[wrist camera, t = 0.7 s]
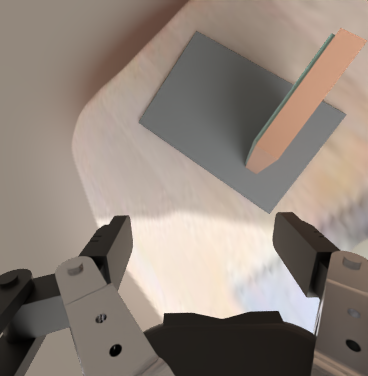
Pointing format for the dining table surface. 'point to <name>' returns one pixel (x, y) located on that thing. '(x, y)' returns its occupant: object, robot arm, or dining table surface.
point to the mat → (232, 119)
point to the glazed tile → (303, 99)
